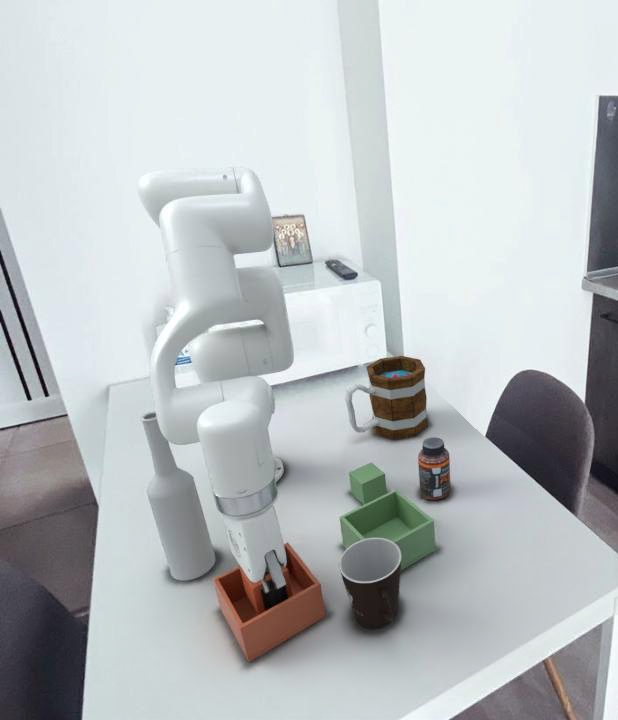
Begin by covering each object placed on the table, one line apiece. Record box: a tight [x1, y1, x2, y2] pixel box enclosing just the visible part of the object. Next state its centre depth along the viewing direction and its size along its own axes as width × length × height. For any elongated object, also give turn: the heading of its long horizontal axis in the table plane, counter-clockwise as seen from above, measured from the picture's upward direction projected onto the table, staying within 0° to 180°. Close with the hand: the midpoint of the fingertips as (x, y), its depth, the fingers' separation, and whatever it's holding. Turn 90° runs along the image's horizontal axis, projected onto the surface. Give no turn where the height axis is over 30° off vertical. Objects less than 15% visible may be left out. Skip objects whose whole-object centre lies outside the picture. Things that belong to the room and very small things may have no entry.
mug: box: [344, 355, 429, 441], centre depth 124 cm, size 20×14×15 cm
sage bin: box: [338, 488, 436, 572], centre depth 91 cm, size 11×11×6 cm
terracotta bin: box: [212, 542, 327, 663], centre depth 79 cm, size 11×11×6 cm
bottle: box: [139, 410, 217, 582], centre depth 83 cm, size 7×7×28 cm
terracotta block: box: [240, 565, 293, 615], centre depth 78 cm, size 5×5×5 cm
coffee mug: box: [338, 538, 402, 631], centre depth 77 cm, size 12×9×10 cm
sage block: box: [348, 462, 388, 506], centre depth 104 cm, size 5×5×5 cm
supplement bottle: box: [417, 436, 451, 501], centre depth 103 cm, size 6×6×11 cm
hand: (268, 592), depth 79 cm, fingers closed on terracotta block, 5 cm apart
